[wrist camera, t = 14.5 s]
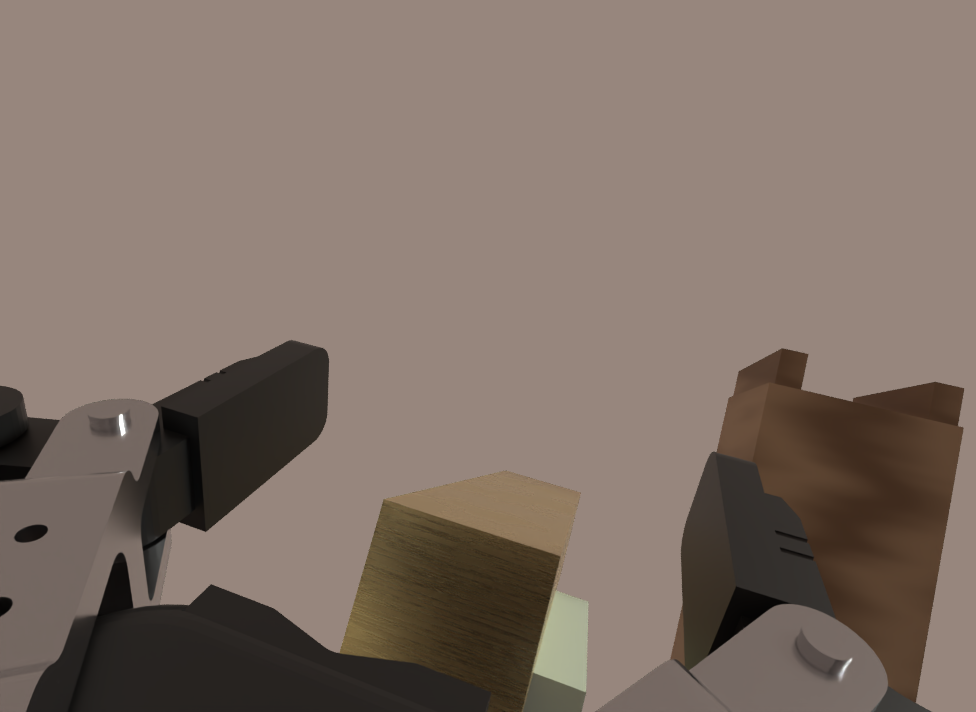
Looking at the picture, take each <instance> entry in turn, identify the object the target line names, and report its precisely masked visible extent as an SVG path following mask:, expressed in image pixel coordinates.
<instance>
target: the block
mask: <svg viewBox="0 0 976 712" xmlns="http://www.w3.org/2000/svg"><path fill="white" fill-rule="evenodd" d="M587 638H588V601H585V600H581V599H579V598H576V597H573V596H570V595H567V594H564V593H561V592H558V591H556V592H555V596H554V600H553V603H552V607H551V611H550V614H549V618H548V622H547V625H546V629H545V633H544V636H543V640H542V644H541V647H540V651H539V655H538V658H537V662H536V665H535V669H534V673H533V676H532V680H531V684H530V687H529V691H528V695H527V698H526V702H525V706H524V709H523V712H581V711H582V707H583V703H584V699H585V695H586V677H587V676H586V675H587V640H588V639H587Z"/></svg>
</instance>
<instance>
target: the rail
mask: <svg viewBox="0 0 976 712" xmlns="http://www.w3.org/2000/svg"><path fill="white" fill-rule="evenodd" d="M580 494H581V493H580V492H577V491H573V490H570V489H567V488H563V487H560V486H556V485H553V484H550V483H546V482H543V481H539V480H535V479H532V478H529V477H526V476H522V475H518V474H515V473H512V472H509V471H502V472H498V473H494V474H490V475H485V476H481V477H477V478H472V479H469V480H464V481H460V482H455V483H452V484H447V485H443V486H439V487H434V488H430V489H426V490H422V491H417V492H413V493H409V494H404V495H400V496H396V497H392V498H387V499H384V500H383V504H382V508H381V511H380V515H379V518H378V521H377V525H376V528H375V532H374V536H373V539H372V542H371V546H370V549H369V553H368V556H367V560H366V563H365V566H364V570H363V574H362V577H361V580H360V584H359V587H358V591H357V594H356V598H355V601H354V605H353V608H352V612H351V615H350V619H349V622H348V626H347V629H346V632H345V636H344V639H343V643H342V646H341V650H340V654H348V655H356V656H364V657H371V658H379V659H387V660H395V661H403V662H410V663H417V664H419V665H422V666H425V667H427V668H430V669H432V670H435V671H438V672H440V673H443V674H445V675H448V676H451V677H453V678H456V679H458V680H461V681H464V682H466V683H469V684H471V685H474V686H477V687H479V688H482V689H484V690H487V691H490V692H491V697H490V702H489V707H488V712H523V709H524V706H525V702H526V698H527V695H528V691H529V687H530V684H531V680H532V676H533V673H534V669H535V665H536V662H537V658H538V655H539V651H540V647H541V644H542V640H543V636H544V633H545V629H546V625H547V622H548V618H549V614H550V611H551V607H552V603H553V600H554V596H555V592H556V589H557V585H558V581H559V578H560V574H561V570H562V566H563V562H564V558H565V554H566V550H567V546H568V542H569V538H570V534H571V530H572V526H573V522H574V518H575V514H576V510H577V506H578V502H579V498H580Z"/></svg>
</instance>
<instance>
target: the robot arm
mask: <svg viewBox="0 0 976 712" xmlns="http://www.w3.org/2000/svg"><path fill="white" fill-rule="evenodd" d="M328 372H329V358H328V354H327V352H326V350H325V349H323V348H320V347H316V346H312V345H309V344H305V343H300V342H297V341H293V340H291V341H287V342H285V343H283V344H282V345H279V346H278V347H275V348H274V349H272V350H270V351H268V352H266V353H264V354H262V355H260V356H258V357H254V358H250V359H246V360H241V361H239V362H236V363H234V364H232V365H230V366H228V367H226V368H224V369H222V370H220V373H214V374H212V375H210V376H208V377H206V378H205V379H204V381H201V380H200V381H198V382H196V383H194V384H192V385H190V386H188V387H186V388H184V389H182V390H180V391H178V392H176V393H174V394H172V395H170V396H168V397H166V398H164V399H162V400H160V401H158V402H156V403H154V404H150V403H147V402H144V401H141V400H134V399H111V400H104V401H99V402H94V403H90V404H87V405H84V406H81V407H79V408H76V409H74V410H72V411H70V412H69V413H67V414H66V415H65V416H64V417H62V419H61V420H52V419H41V418H30V417H27V414H26V409H25V404H24V399H23V395H22V394H21V392H20V391H18V390H16V389H13V388H10V387H5V386H0V712H488V707H489V702H490V697H491V692H490V691H487V690H484V689H482V688H479V687H477V686H474V685H471V684H469V683H466V682H464V681H461V680H458V679H456V678H453V677H451V676H448V675H445V674H443V673H440V672H438V671H435V670H432V669H430V668H427V667H425V666H422V665H419V664H417V663H410V662H403V661H395V660H387V659H379V658H371V657H364V656H356V655H348V654H340V653H335V652H332V651H330V650H328V649H326V648H325V647H323V646H322V645H321V644H320V643H318V642H317V641H316V640H314V639H313V638H312V637H310V636H309V635H308V634H307V633H305V632H304V631H303V630H301V629H300V628H299V627H297V626H296V625H295V624H293V623H292V622H291V621H290V620H288V619H287V618H285V617H284V616H283V615H282V614H280V613H279V612H278V611H276V610H275V609H273V608H271V607H269V606H266V605H263V604H260V603H258V602H256V601H253V600H250V599H248V598H245V597H243V596H240V595H237V594H235V593H232V592H229V591H227V590H224V589H222V588H219V587H216V586H214V585H210V586H209V587H208V588H207V589H206V590H205V591H204V592H203V593H202V594H200V595H199V596H198V597H197V598H196V599H195V600H194V601H193V602H192V603H191V604H190V605H160V600H161V595H162V590H163V584H164V579H165V575H166V569H167V564H168V559H169V554H170V549H171V541H172V540H171V529H170V528H172V527H173V526H174V525H176V524H177V523H178V522H180V523H183V524H186V525H189V526H191V527H194V528H197V529H200V530H202V531H205V532H206V531H207V530H209V529H210V528H211V527H212V526H213V525H215V524H216V523H217V522H218V521H219V520H221V519H222V518H223V517H224V516H225V515H227V514H228V513H229V512H230V511H231V510H233V509H234V508H235V507H236V506H237V505H239V504H240V503H241V502H242V501H243V500H245V499H246V498H247V497H248V496H249V495H251V494H252V493H253V492H254V491H255V490H257V489H258V488H259V487H260V486H261V485H263V484H264V483H265V482H266V481H267V480H268V479H270V478H271V477H272V476H273V475H275V474H276V473H277V472H278V471H279V470H281V469H282V468H283V467H284V466H285V465H287V464H288V463H289V462H290V461H291V460H292V459H294V458H295V457H296V456H297V455H299V454H300V453H301V452H302V451H303V450H304V449H306V448H307V447H308V446H309V445H311V444H312V443H313V442H314V441H315V440H316V439H317V438H318V437H319V435H320V434H321V432H322V430H323V428H324V425H325V422H326V418H327V406H328V374H329V373H328ZM807 540H808V539H807V536H806V533H805V530H804V528H803V525H802V522H801V519H800V518H799V517H798V515H797V514H796V513H795V512H794V511H793V510H792V509H791V508H790V506H789V505H788V504H787V503H786V502H785V501H784V500H783V499H782V498H781V497H778V496H774V495H771V494H767V493H764V489H763V486H762V482H761V479H760V475H759V471H758V468H757V465H756V463H754V462H751V461H747V460H743V459H739V458H736V457H732V456H728V455H724V454H720V453H717V452H712V453H711V454H710V456H709V458H708V460H707V463H706V465H705V468H704V471H703V474H702V477H701V480H700V483H699V486H698V488H697V491H696V494H695V497H694V500H693V503H692V506H691V509H690V512H689V515H688V517H687V521H686V524H685V528H684V533H683V538H682V546H681V566H682V593H683V594H682V596H683V627H684V657H685V666H684V665H683V664H682V663H681V662H680V661H678V660H677V659H672V660H669V661H667V662H665V663H663V664H661V665H660V666H659V667H657V668H655V669H654V670H653V671H651V672H650V673H648V674H647V675H646V676H644V677H643V678H641V679H640V680H639V681H637V682H636V683H635V684H633V685H632V686H630V687H629V688H628V689H626V690H625V691H623V692H622V693H621V694H619V695H618V696H616V697H615V698H614V699H612V700H611V701H609V702H608V703H607V704H605V705H604V706H602V707H601V708H600V709H598V710H597V711H596V712H931V711H929V710H927V709H925V708H924V707H922V706H920V705H918V704H916V703H915V702H913V701H911V700H909V699H908V698H906V697H904V696H903V695H901V694H899V693H898V692H896V691H895V690H894V689H892V688H891V687H889V686H888V680H887V674H886V672H885V669H884V667H883V665H882V663H881V661H880V659H879V658H878V657H877V655H876V654H875V652H874V651H873V650H872V649H871V648H870V647H869V645H868V644H867V643H866V642H865V641H864V640H863V639H862V638H861V637H859V636H858V635H857V634H856V633H855V632H854V631H852V630H851V629H850V628H848V627H847V626H846V625H844V624H842V623H841V622H839V621H838V620H836V617H835V614H834V612H833V609H832V606H831V603H830V600H829V598H828V595H827V592H826V589H825V586H824V584H823V581H822V578H821V575H820V572H819V570H818V567H817V564H816V562H815V561H813V559H814V556H813V553H812V550H811V547H810V544H809V543H807Z"/></svg>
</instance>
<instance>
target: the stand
mask: <svg viewBox="0 0 976 712" xmlns="http://www.w3.org/2000/svg"><path fill="white" fill-rule="evenodd" d="M807 358H808V354H805V353H800V352H796V351H792V350H786V349H780V350H778V351H776V352H775V353H773V354H771V355H769V356H767V357H765V358H763V359H762V360H759V361H758V362H756V363H754V364H752V365H750V366H748V367H746V368H744V369H743V370H741V371H739V374H738V378H737V382H736V387H735V391H734V395H733V396H732V397H730V398H729V399H728V404H727V408H726V413H725V418H724V422H723V426H722V431H721V435H720V440H719V444H718V449H717V453H720V454H724V455H728V456H732V457H736V458H739V459H743V460H747V461H751V462H754V463H756V465H757V468H758V471H759V475H760V479H761V482H762V486H763V489H764V493H767V494H771V495H774V496H778V497H781V498H782V499H783V500H784V501H785V502H786V503H787V504H788V505H789V506H790V508H791V509H792V510H793V511H794V512H795V513H796V514H797V515H798V517H799V518H800V519H801V522H802V525H803V528H804V530H805V533H806V536H807V539H808V540H807V543H809V544H810V547H811V550H812V553H813V556H814V559H813V561H815V562H816V564H817V567H818V570H819V572H820V575H821V578H822V581H823V584H824V586H825V589H826V592H827V595H828V598H829V600H830V603H831V606H832V609H833V612H834V614H835V617H836V620H838V621H839V622H841V623H842V624H844V625H846V626H847V627H848V628H850V629H851V630H852V631H854V632H855V633H856V634H857V635H858V636H859V637H861V638H862V639H863V640H864V641H865V642H866V643H867V644H868V645H869V647H870V648H871V649H872V650H873V651H874V652H875V654H876V655H877V657H878V658H879V659H880V661H881V663H882V665H883V667H884V669H885V672H886V674H887V680H888V686H889V687H891V688H892V689H894V690H895V691H896V692H898V693H899V694H901V695H903V696H904V697H906V698H908V699H909V700H911V701H913V702H915V703H916V697H917V692H918V686H919V680H920V675H921V669H922V663H923V658H924V652H925V646H926V640H927V635H928V629H929V623H930V617H931V612H932V606H933V600H934V595H935V588H936V583H937V577H938V572H939V566H940V560H941V554H942V549H943V543H944V537H945V531H946V526H947V520H948V514H949V509H950V503H951V497H952V491H953V485H954V480H955V474H956V468H957V463H958V457H959V451H960V445H961V440H962V434H963V427H959V426H958V421H959V416H960V410H961V404H962V399H963V393H964V388H960V387H956V386H951V385H947V384H942V383H938V382H933V383H928V384H923V385H917V386H913V387H908V388H902V389H897V390H892V391H887V392H881V393H876V394H871V395H866V396H862V397H856V398H854V399H853V402H851V401H847V400H843V399H838V398H834V397H829V396H825V395H821V394H817V393H813V392H808V391H803V390H801V387H802V382H803V377H804V372H805V367H806V363H807ZM672 659H677V660H678V661H680V662H681V663H682V664H683V665H684V666H685V657H684V627H683V606H682V610H681V614H680V619H679V623H678V628H677V632H676V637H675V642H674V646H673V650H672V655H671V659H670V660H672Z"/></svg>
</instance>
